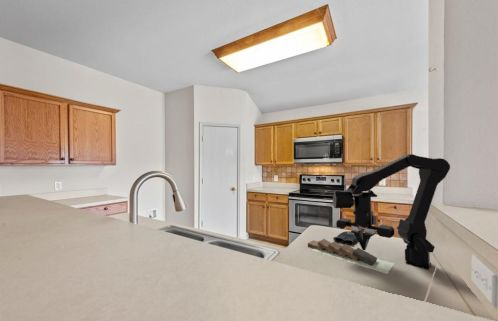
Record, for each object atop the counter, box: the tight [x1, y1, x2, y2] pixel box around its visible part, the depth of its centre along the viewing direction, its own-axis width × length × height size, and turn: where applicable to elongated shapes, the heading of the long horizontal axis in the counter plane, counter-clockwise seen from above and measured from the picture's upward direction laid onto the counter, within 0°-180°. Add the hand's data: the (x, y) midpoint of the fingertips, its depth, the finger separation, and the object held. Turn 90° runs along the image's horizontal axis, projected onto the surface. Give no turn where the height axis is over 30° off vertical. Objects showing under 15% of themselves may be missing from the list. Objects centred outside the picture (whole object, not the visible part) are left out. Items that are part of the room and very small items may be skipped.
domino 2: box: [318, 238, 335, 254], centre depth 89 cm, size 1×5×7 cm
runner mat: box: [311, 248, 395, 275], centre depth 82 cm, size 28×10×1 cm, turn 43°
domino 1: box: [307, 239, 324, 251], centre depth 93 cm, size 1×5×7 cm
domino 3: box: [328, 240, 347, 257], centre depth 85 cm, size 1×5×7 cm
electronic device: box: [332, 230, 359, 246], centre depth 101 cm, size 9×6×15 cm
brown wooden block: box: [339, 243, 359, 261], centre depth 82 cm, size 1×5×7 cm
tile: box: [352, 247, 378, 266], centre depth 78 cm, size 1×5×7 cm
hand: (364, 249), depth 79 cm, fingers closed
